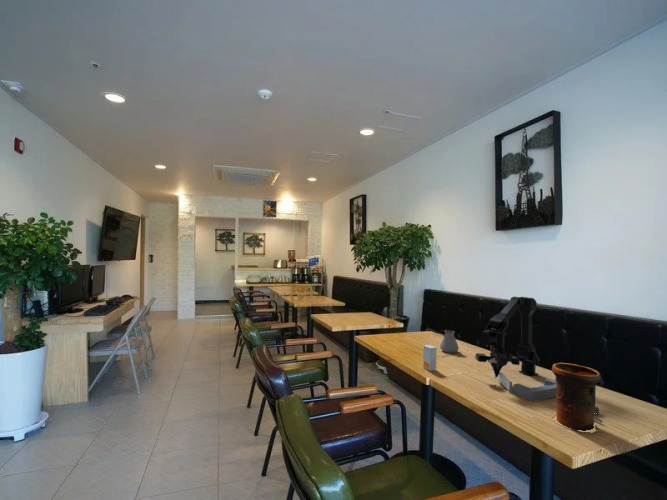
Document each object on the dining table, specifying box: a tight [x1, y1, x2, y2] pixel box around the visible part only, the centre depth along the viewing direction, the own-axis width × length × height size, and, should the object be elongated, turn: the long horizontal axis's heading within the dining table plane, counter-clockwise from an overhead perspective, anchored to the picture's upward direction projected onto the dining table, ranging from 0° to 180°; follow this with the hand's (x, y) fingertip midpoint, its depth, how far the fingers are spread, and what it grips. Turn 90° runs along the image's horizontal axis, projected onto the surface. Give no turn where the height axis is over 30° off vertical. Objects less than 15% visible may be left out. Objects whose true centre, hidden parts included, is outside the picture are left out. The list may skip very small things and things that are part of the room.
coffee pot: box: [426, 327, 460, 354], centre depth 216 cm, size 21×12×15 cm, turn 98°
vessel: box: [550, 362, 602, 431], centre depth 123 cm, size 14×14×20 cm
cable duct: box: [513, 378, 557, 403], centre depth 150 cm, size 22×9×4 cm, turn 112°
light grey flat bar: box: [493, 371, 513, 393], centre depth 161 cm, size 23×1×4 cm, turn 171°
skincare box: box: [422, 344, 437, 372], centre depth 180 cm, size 6×4×12 cm
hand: (496, 376), depth 164 cm, fingers closed
